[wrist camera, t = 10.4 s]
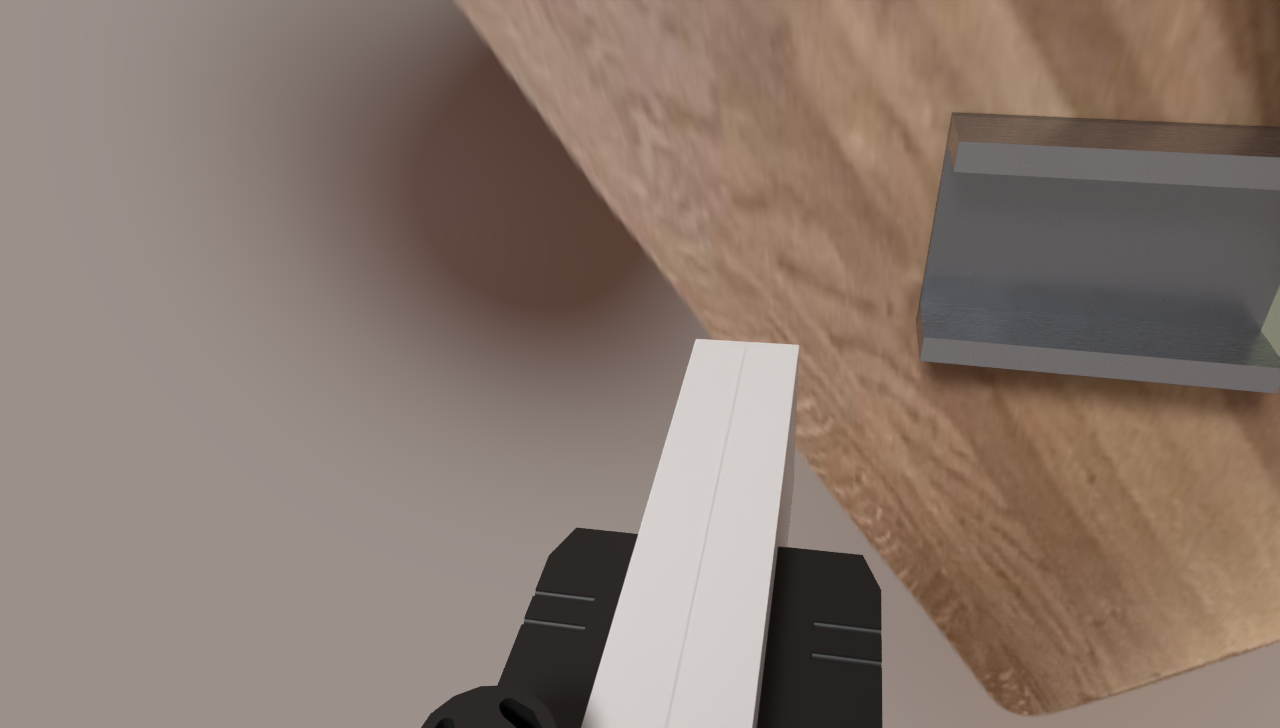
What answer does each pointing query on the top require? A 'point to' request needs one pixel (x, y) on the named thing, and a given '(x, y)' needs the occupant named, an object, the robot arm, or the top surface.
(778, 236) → the top surface
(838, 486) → the top surface
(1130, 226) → the chute
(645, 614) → the robot arm
